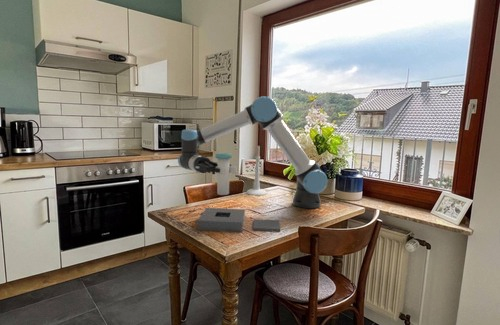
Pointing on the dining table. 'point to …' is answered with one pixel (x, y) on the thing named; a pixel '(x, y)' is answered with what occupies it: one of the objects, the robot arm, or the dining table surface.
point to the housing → (222, 220)
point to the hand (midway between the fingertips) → (231, 171)
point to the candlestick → (257, 178)
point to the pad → (266, 225)
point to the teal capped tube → (222, 179)
